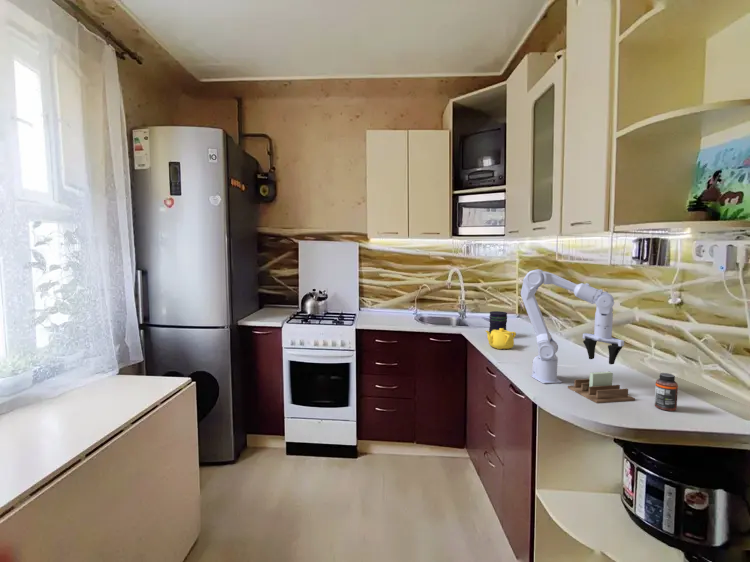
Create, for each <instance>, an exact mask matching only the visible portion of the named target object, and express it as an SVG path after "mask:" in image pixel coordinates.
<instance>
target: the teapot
mask: <svg viewBox="0 0 750 562" xmlns="http://www.w3.org/2000/svg"><path fill="white" fill-rule="evenodd" d="M485 333H486V335H487V341H488V344H489V346H490V347H492V348H495V349H497V350H502V349H505V350H510V349H513V347H514V345H515V337H516V335H517V333H516V331H509V330H504V329H503V328H499V330H492V331H491V334H490V332H489V330H485Z"/></svg>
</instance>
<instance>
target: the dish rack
mask: <svg viewBox="0 0 750 562" xmlns="http://www.w3.org/2000/svg"><path fill="white" fill-rule="evenodd" d="M589 381H590V378H585V379H584V378H582V379H581V378H580V379H574V384H573V385H568V386H567V389H569V390H571V391H572V392H574V391H575V392H574V393H577V394H578V395H581V396H582V397H584V398H586V399H588V400H590V401H592V402H594V403H596V404H600V403H601V404H604V403H616V402H617V403H618V402H633V401H636V398H635V397H633V396H631V395H629V388H620V387H621V385H619V384H612V385H608V386H591V387H589Z"/></svg>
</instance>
